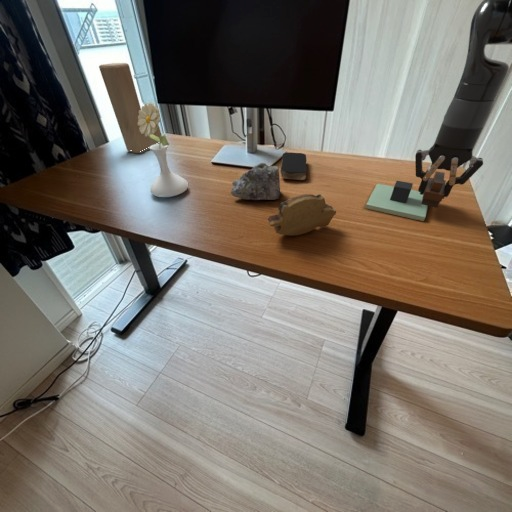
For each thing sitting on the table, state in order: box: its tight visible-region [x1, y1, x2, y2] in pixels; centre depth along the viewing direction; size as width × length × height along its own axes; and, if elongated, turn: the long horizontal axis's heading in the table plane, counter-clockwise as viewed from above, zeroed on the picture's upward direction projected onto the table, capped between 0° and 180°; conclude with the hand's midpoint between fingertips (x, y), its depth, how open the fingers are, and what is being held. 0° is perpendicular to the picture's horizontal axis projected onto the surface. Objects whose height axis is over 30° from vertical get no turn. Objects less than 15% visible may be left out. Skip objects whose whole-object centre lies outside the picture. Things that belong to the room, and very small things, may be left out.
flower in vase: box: [138, 101, 189, 198], centre depth 74 cm, size 13×11×25 cm
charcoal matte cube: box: [390, 180, 414, 203], centre depth 71 cm, size 4×4×4 cm
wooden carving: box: [267, 193, 337, 237], centre depth 61 cm, size 16×5×10 cm, turn 112°
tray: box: [364, 183, 428, 222], centre depth 73 cm, size 14×14×1 cm
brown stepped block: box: [421, 170, 447, 208], centre depth 67 cm, size 9×4×6 cm, turn 150°
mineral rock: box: [230, 162, 282, 201], centre depth 76 cm, size 13×11×10 cm
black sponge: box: [280, 152, 307, 181], centre depth 90 cm, size 16×8×4 cm, turn 173°
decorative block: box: [98, 62, 162, 154], centre depth 107 cm, size 15×8×30 cm, turn 157°
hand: (431, 195), depth 68 cm, fingers closed on brown stepped block, 4 cm apart
